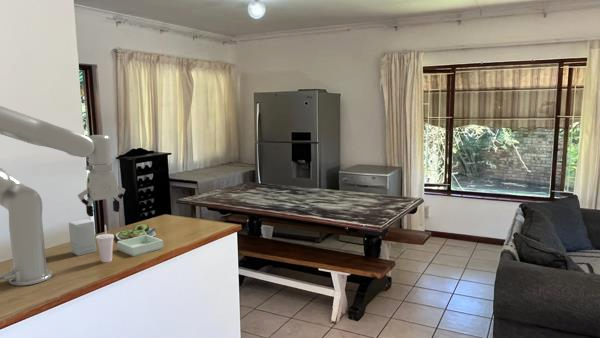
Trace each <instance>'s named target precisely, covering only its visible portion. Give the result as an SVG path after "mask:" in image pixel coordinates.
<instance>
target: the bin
mask: <svg viewBox="0 0 600 338" xmlns="http://www.w3.org/2000/svg"><path fill="white" fill-rule="evenodd" d="M116 244H117V251H119V252H122V253H124V254H127V255H129V256H131V257H137V256H141V255H145V254H149V253H152V252H155V251H159V250H163V249H164V240H163V239H161V238H158V237H156V236H154V237H152V236H149V235H143V236H139V237H134V238H126V239H123V240H122V241H119V240H117V241H116Z"/></svg>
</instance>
